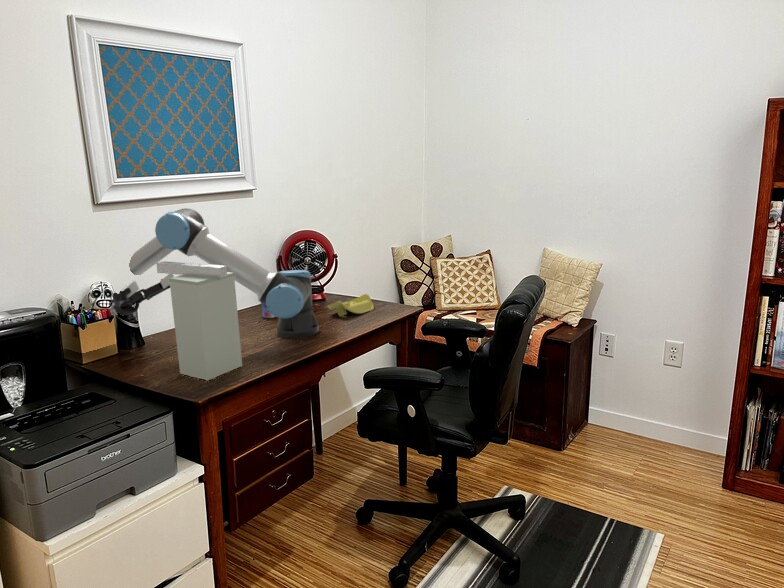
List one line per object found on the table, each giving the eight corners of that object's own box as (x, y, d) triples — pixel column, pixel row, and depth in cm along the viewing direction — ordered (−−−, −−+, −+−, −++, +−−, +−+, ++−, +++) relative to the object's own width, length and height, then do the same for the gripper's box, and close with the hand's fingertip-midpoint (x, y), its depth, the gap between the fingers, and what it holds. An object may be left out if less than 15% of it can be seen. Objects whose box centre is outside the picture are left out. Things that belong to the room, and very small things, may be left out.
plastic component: (351, 300, 263) (369, 292, 257) (357, 316, 262) (375, 309, 257) (322, 307, 246) (340, 299, 241) (329, 325, 246) (347, 317, 240)
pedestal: (180, 374, 189) (169, 278, 182) (215, 360, 201) (206, 269, 194) (207, 381, 183) (197, 282, 176) (242, 366, 195) (233, 272, 187)
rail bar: (157, 272, 190) (156, 263, 189) (164, 270, 193) (163, 261, 192) (220, 277, 181) (219, 267, 180) (227, 275, 183) (226, 265, 182)
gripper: (159, 307, 219) (191, 283, 207) (93, 326, 199) (125, 300, 187) (150, 288, 220) (181, 263, 208) (83, 305, 199) (114, 278, 187)
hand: (155, 280), depth 197 cm, fingers open, 13 cm apart
